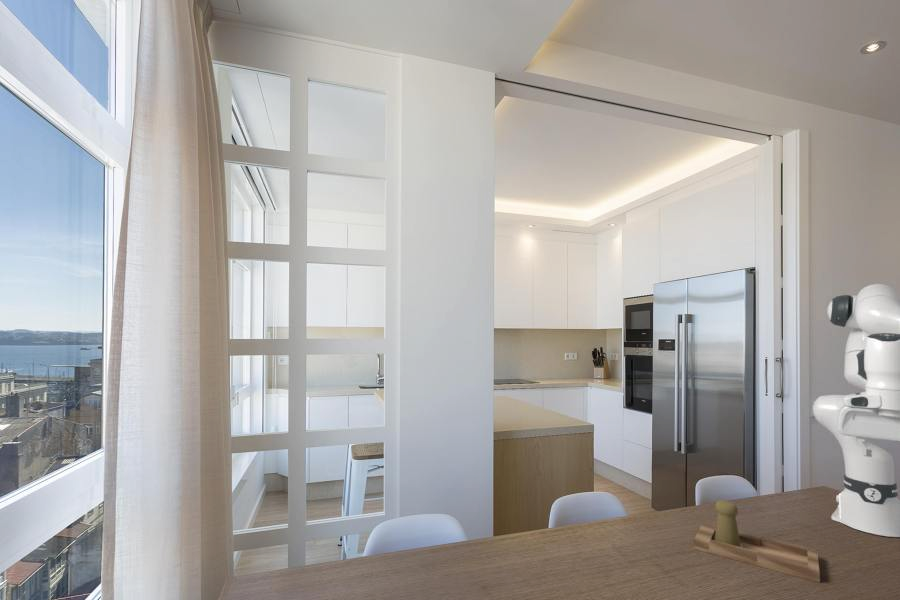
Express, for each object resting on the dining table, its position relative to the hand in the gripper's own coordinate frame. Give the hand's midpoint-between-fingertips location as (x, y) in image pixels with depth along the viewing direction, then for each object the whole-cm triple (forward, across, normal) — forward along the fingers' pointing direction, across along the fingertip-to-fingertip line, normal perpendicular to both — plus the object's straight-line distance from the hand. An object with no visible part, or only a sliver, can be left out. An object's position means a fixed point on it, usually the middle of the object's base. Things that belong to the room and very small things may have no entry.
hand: (894, 459), depth 107 cm
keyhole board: (+28, +28, +6) cm, 40 cm away
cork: (+27, +34, +7) cm, 44 cm away
